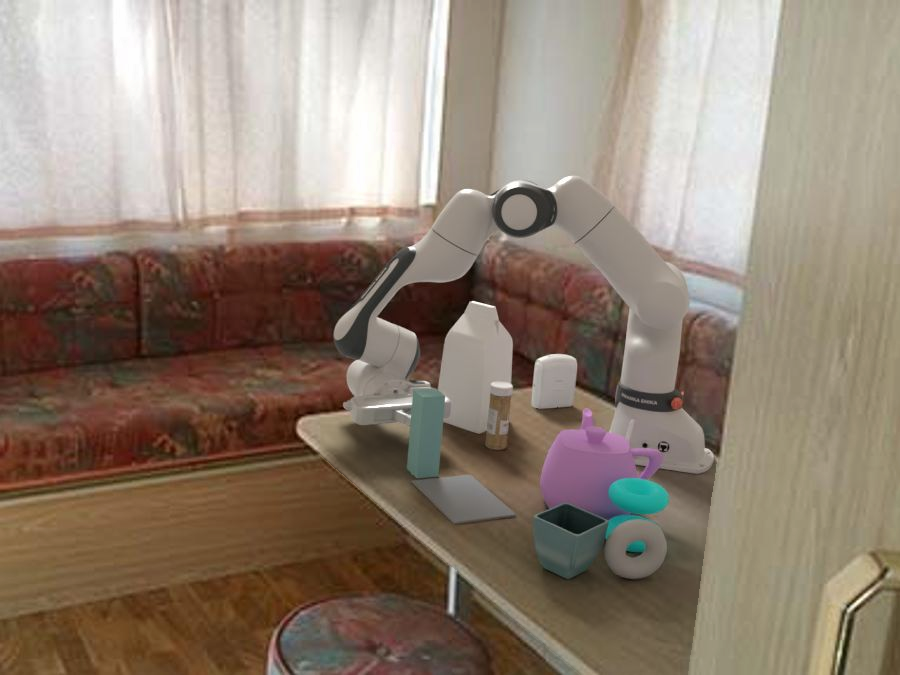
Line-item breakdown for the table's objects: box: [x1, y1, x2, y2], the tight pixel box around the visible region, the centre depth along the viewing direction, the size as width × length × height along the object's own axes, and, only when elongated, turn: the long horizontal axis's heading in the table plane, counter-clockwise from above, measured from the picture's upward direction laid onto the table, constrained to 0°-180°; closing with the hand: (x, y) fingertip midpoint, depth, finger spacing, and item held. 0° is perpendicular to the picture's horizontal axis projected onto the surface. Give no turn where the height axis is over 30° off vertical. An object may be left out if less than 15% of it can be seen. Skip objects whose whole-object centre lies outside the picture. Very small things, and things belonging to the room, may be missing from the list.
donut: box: [603, 519, 668, 580], centre depth 166 cm, size 10×4×10 cm, turn 98°
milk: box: [437, 300, 514, 435], centre depth 228 cm, size 12×12×26 cm
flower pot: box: [533, 503, 609, 580], centre depth 167 cm, size 9×9×9 cm
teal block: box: [406, 387, 445, 479], centre depth 199 cm, size 4×4×16 cm
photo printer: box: [530, 353, 578, 410], centre depth 244 cm, size 10×4×12 cm, turn 114°
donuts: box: [604, 478, 670, 553], centre depth 179 cm, size 10×10×10 cm
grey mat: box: [411, 474, 517, 525], centre depth 191 cm, size 18×12×1 cm, turn 25°
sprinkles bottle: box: [484, 381, 514, 451], centre depth 216 cm, size 5×5×13 cm
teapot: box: [539, 407, 663, 520], centre depth 193 cm, size 23×21×15 cm
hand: (415, 421), depth 203 cm, fingers closed
